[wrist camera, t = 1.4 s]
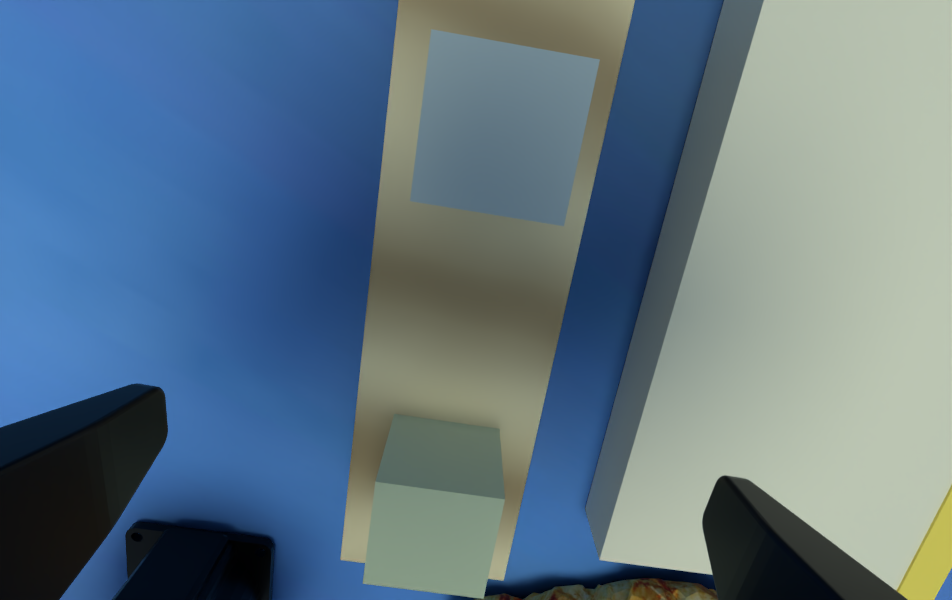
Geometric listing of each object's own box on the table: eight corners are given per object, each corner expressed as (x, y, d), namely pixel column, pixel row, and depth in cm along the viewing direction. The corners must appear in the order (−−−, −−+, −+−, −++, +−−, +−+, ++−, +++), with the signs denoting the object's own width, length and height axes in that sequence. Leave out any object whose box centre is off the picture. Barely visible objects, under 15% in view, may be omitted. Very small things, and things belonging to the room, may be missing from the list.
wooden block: (498, 491, 25) (503, 580, 20) (366, 474, 24) (340, 559, 20) (599, 7, 18) (642, -34, 14) (425, -26, 18) (406, -78, 13)
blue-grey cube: (545, 203, 15) (564, 226, 12) (423, 183, 15) (409, 201, 12) (571, 73, 14) (599, 59, 11) (441, 50, 14) (431, 29, 11)
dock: (893, 550, 25) (949, 607, 22) (585, 509, 24) (599, 561, 22) (1185, -26, 18) (1326, -56, 15) (754, -112, 17) (812, -161, 14)
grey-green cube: (481, 514, 19) (483, 598, 16) (382, 501, 19) (362, 583, 15) (499, 428, 18) (505, 499, 14) (394, 413, 18) (375, 481, 14)
